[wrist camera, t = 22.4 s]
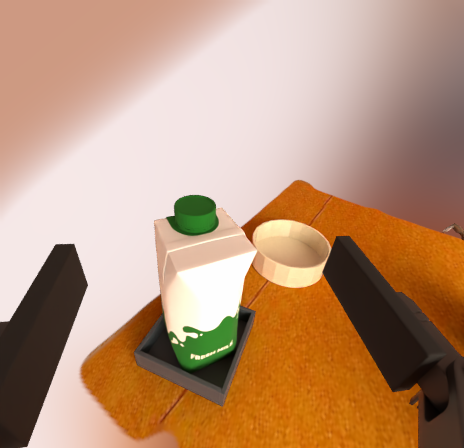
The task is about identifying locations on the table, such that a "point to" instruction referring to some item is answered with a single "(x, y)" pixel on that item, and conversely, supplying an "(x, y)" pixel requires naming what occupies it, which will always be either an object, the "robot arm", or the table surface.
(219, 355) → the milk carton
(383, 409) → the table surface
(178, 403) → the table surface
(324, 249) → the bowl
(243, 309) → the tray
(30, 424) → the robot arm
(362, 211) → the table surface
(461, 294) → the table surface
